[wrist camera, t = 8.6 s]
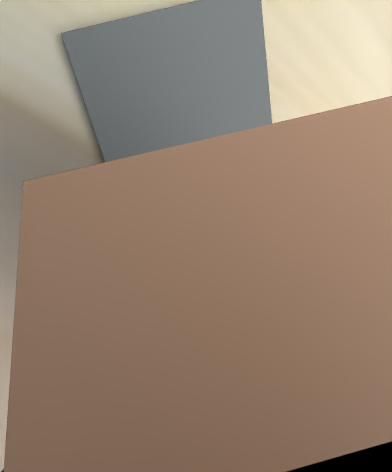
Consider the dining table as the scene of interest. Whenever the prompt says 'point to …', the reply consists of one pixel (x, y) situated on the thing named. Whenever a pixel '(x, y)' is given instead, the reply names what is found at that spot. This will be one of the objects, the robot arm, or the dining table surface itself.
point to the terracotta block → (211, 306)
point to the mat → (173, 75)
